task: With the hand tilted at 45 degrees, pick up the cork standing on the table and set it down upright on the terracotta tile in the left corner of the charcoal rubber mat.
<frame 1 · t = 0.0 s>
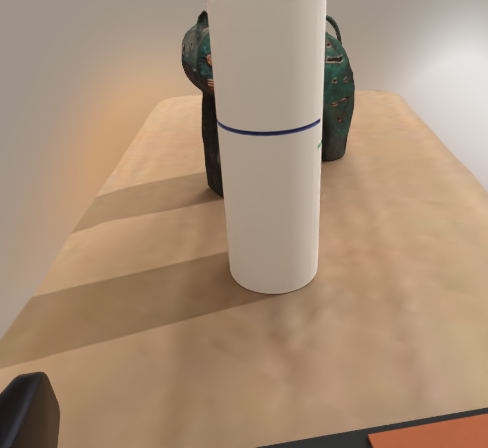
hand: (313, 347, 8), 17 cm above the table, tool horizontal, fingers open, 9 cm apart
ceramic cat: (275, 172, 54), on the table
cylindrical container: (273, 267, 38), on the table
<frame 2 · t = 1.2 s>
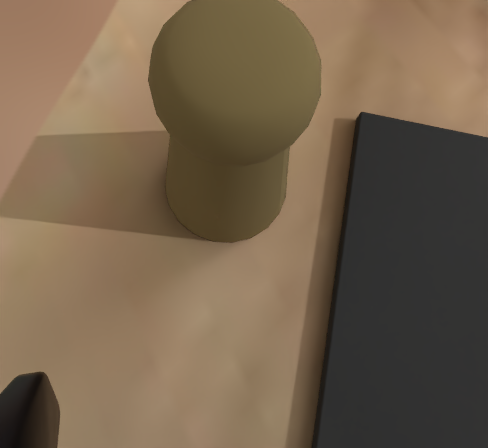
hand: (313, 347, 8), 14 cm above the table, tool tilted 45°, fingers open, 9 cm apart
cork: (226, 184, 23), on the table
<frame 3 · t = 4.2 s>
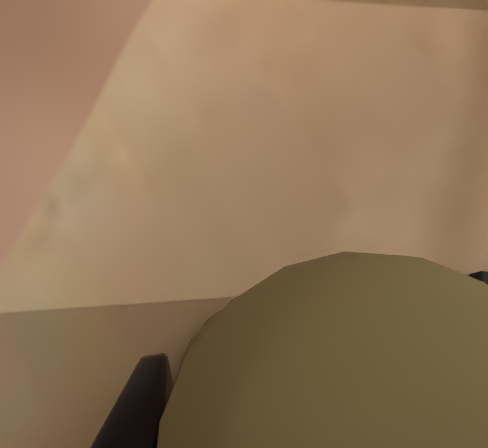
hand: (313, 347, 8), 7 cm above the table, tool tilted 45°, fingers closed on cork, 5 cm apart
cork: (272, 390, 15), on the table, touching gripper
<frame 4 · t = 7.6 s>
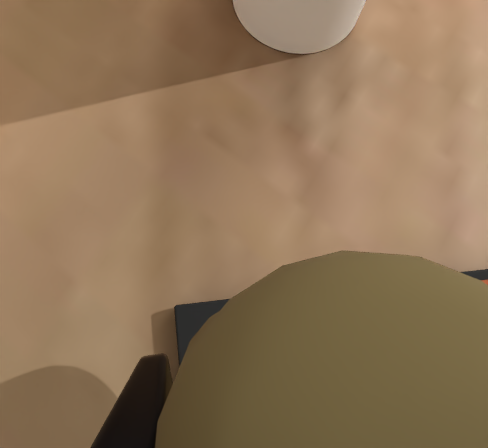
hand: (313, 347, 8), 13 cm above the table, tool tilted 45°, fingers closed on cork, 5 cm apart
cork: (271, 389, 15), point 6 cm above the table, touching gripper
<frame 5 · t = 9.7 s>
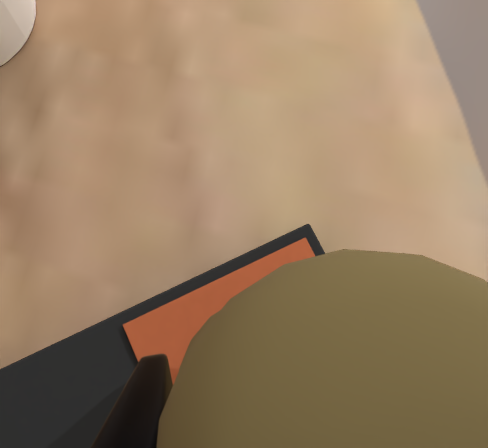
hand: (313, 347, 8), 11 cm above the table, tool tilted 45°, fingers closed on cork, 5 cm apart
cork: (272, 389, 15), point 4 cm above the table, touching gripper
when the fingers open (8 cm above the table, at t = 11.1 s): cork stays where it is, resting on rubber mat.
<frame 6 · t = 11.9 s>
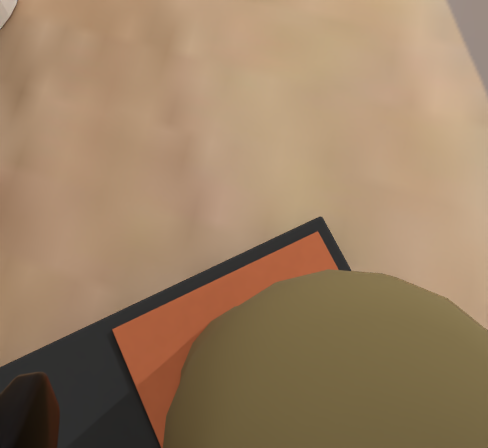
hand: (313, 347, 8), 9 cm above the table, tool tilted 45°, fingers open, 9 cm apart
cork: (268, 390, 16), point 1 cm above the table, touching rubber mat
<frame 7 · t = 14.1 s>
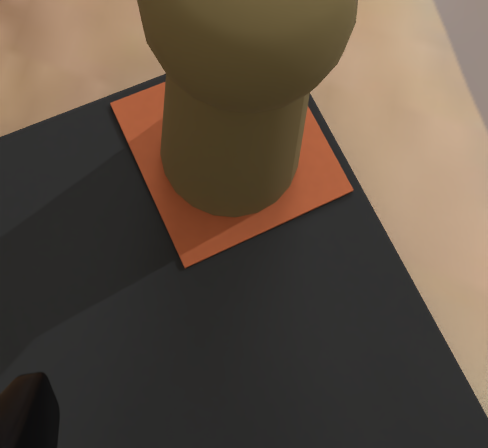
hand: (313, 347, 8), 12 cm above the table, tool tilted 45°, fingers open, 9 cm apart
cork: (230, 151, 20), point 1 cm above the table, touching rubber mat
rubber mat: (199, 330, 19), on the table
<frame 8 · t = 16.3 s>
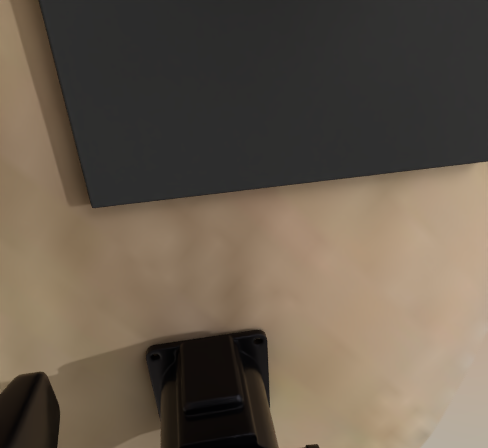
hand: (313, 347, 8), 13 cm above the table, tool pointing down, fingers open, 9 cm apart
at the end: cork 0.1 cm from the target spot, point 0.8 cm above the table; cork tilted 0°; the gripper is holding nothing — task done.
